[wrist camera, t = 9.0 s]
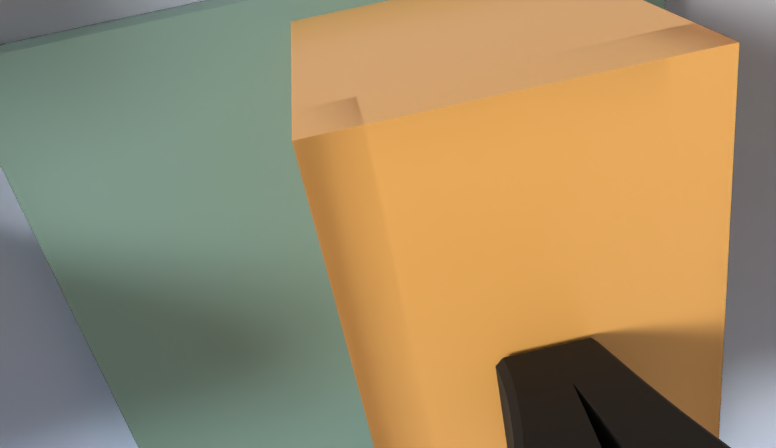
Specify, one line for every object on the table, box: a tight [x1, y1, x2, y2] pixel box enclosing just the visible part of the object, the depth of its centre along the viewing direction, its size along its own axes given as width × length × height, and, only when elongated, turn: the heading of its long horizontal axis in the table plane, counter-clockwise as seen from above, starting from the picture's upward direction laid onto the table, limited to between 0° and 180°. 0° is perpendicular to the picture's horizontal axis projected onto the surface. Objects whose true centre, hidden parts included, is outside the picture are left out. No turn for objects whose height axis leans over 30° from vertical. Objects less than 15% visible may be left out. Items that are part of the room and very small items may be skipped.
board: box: [0, 0, 665, 448], centre depth 18 cm, size 20×13×1 cm, turn 11°
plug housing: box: [291, 0, 739, 448], centre depth 13 cm, size 12×5×6 cm, turn 11°
